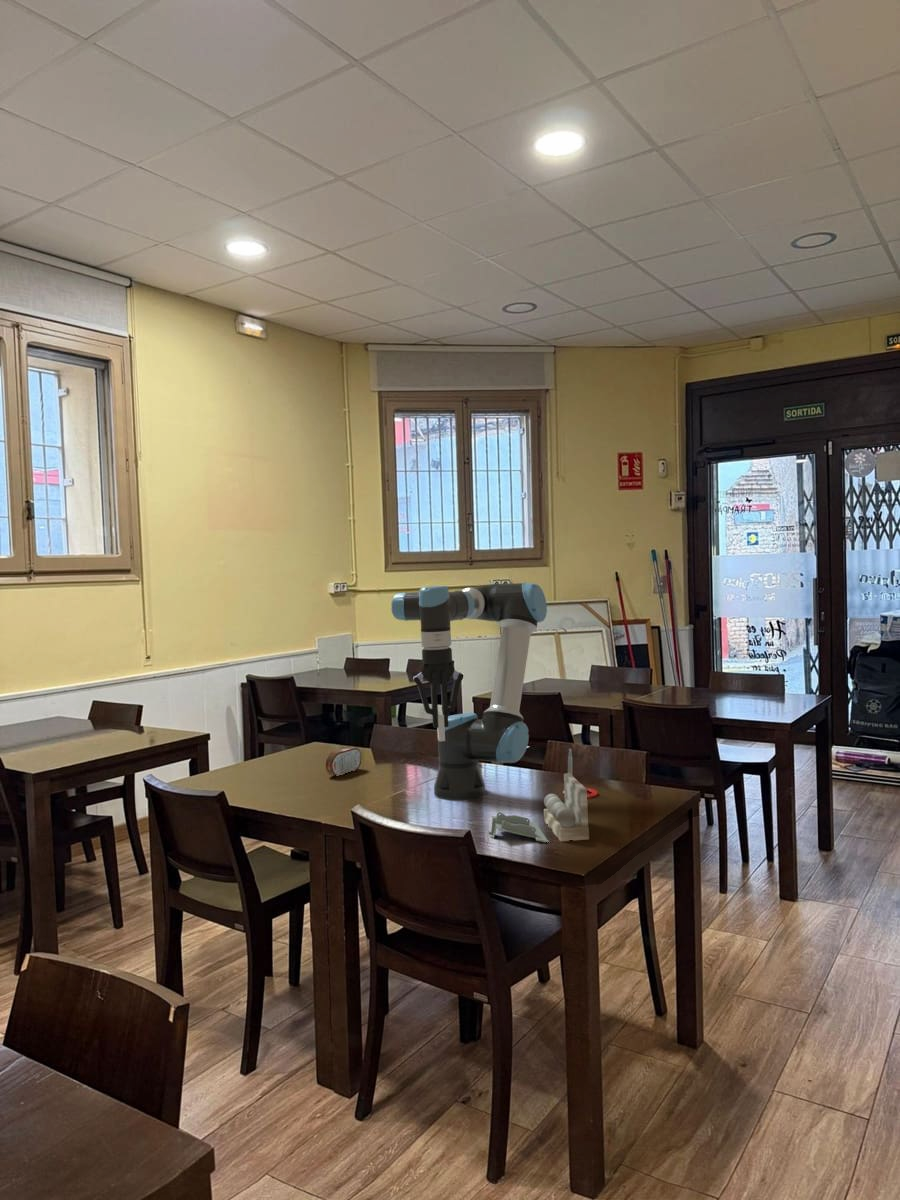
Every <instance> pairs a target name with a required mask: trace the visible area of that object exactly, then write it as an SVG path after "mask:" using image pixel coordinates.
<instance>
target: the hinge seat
mask: <svg viewBox="0 0 900 1200" xmlns="http://www.w3.org/2000/svg"><path fill="white" fill-rule="evenodd" d="M572 775H573V774H572ZM572 775H571V774H570V773H568V772H566V773H563V782H564V783H563V785H564V787H563V790H564V794H565V795H564V801H562V800H561V798H559V796H558V795H557V794H556V793H548V794H547V795H546V796H544V799H543V805H544V806H545V807H546V808H544V809H543V821H544V822H545V824H546V825H547V824H548V825H547V826H548V828H549V829H550V828H551V829H552V830H551V829H550V830H551V831H552V832H553V834H554V835H555V836H556V838H557V837H558V838H557V839H558V840H559V842H570V841H569V840H573V841H583V840H586V841H587V840H590V831H589V828H590V827H589V814H588V809H589V808H588V799H587V795H588V792H587V789H586V788H587V787H585V786H584V785H583V784H582V783H581V782H579V781H578V779H576V778H575V776H574V775H573V776H572Z"/></svg>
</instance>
